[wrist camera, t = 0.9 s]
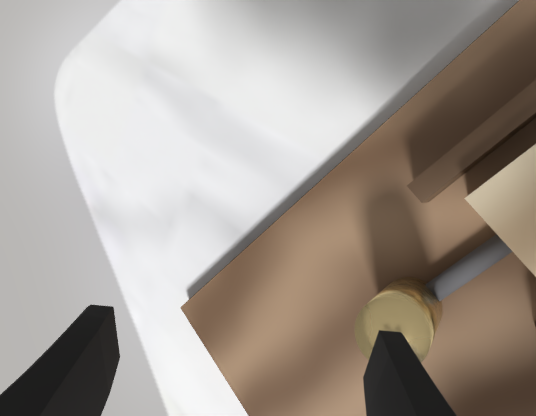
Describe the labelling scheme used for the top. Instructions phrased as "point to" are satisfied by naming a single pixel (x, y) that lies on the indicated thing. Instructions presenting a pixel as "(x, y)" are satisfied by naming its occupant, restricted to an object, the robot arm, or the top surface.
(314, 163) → the top surface
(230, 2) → the top surface
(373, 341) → the cream block with stem
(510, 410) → the walnut lane shelf
